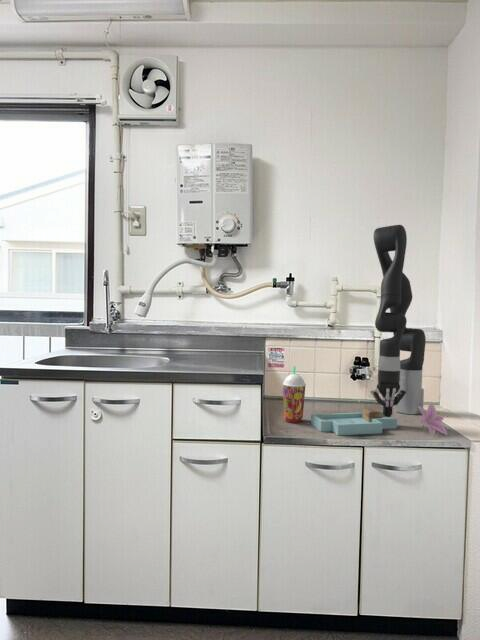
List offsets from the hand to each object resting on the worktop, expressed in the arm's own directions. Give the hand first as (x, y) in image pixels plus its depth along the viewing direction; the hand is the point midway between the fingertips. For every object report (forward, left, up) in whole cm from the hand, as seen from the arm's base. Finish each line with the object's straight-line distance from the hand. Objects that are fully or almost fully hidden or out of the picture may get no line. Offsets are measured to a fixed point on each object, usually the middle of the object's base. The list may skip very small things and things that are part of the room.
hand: (387, 416), depth 187 cm
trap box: (+13, +2, -3) cm, 13 cm away
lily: (-10, +12, -3) cm, 16 cm away
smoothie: (+32, -10, -3) cm, 34 cm away
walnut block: (+6, 0, -1) cm, 6 cm away
